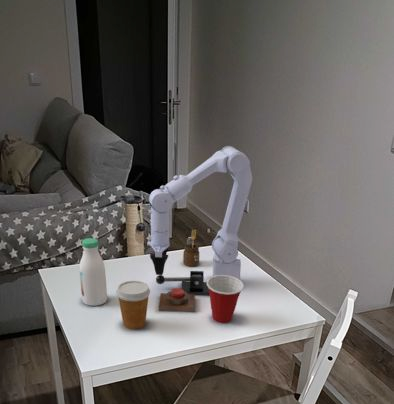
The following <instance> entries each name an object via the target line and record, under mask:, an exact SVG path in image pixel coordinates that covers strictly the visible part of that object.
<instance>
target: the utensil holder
mask: <svg viewBox="0 0 394 404" xmlns="http://www.w3.org/2000/svg"><path fill="white" fill-rule="evenodd" d="M196 236H197V230H196V229H192V230H191V235H190V236H189V237H188V239H190V240H188V241H186V242H187V243H186V244H185V245H184V250H183V254H182V255H183V257H182V263H183V265H184V266H185V267H197V266H198V265H199V263H200V251H199V250H200V248H199V245H198V244H196V243H194V242H195V239H196V238H197V237H196ZM191 241H192V242H191Z"/></svg>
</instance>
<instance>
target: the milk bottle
mask: <svg viewBox="0 0 394 404" xmlns="http://www.w3.org/2000/svg"><path fill="white" fill-rule="evenodd" d="M81 243H82V249H83V252H82V257H81V258H80V262H79V279H80V289H81V290H80V292H81V301H82V302H83V304H85V305H87V306H91V307H93V306H96V307H97V306H101V305H104V304H105V303H106V302H107V301H108V287H107V275H106V274H107V273H106V266H105V262H104V259H103V258H102V256H101V254H100V252H99V240H98V239H97V238H94V237H88V238H84V239H83V240H82V242H81Z"/></svg>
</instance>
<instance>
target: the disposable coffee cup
mask: <svg viewBox="0 0 394 404" xmlns="http://www.w3.org/2000/svg"><path fill="white" fill-rule="evenodd" d="M115 294H116V296H117V298H118V303H119V308H120V313H121V319H122V324H123V327H124V328H125V329H127V330H131V331H132V330H133V331H135V330H141V329H143V328H144V327H145V326H146V320H147V311H148V304H149V296H150V295H151V290H150V287H149V285H148V284H147V283H145V282H144V281H140V280H126V281H123V282H121V283H119V284H118V285H117V289H116V290H115Z"/></svg>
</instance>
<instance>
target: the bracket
mask: <svg viewBox="0 0 394 404" xmlns="http://www.w3.org/2000/svg"><path fill="white" fill-rule="evenodd" d="M195 274H201V276H192V275H195ZM204 274H205V272H204V271H202V270H190V271H189V277H190V281H181V288H180V289H182V290H184V291H185V292H187V293H188V294H195V296H205V297H207V296H208V297H210V294H209V289H208V286H207V281H205V277H204Z"/></svg>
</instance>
